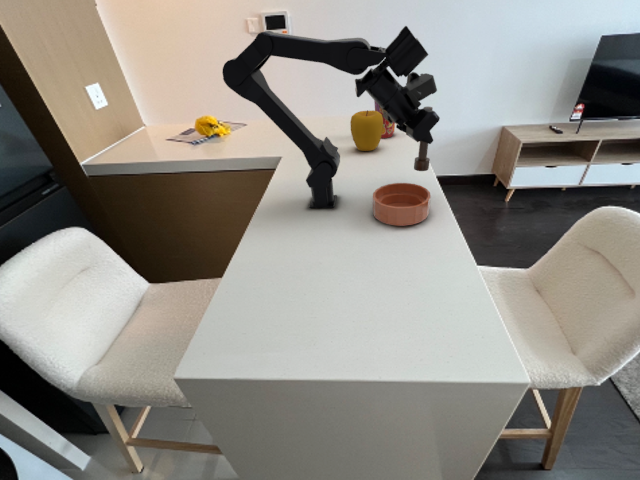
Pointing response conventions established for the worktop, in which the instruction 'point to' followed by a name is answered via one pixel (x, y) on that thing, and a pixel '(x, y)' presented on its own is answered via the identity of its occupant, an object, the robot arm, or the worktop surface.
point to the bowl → (401, 203)
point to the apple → (366, 129)
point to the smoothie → (385, 124)
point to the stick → (422, 156)
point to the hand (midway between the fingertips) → (429, 140)
